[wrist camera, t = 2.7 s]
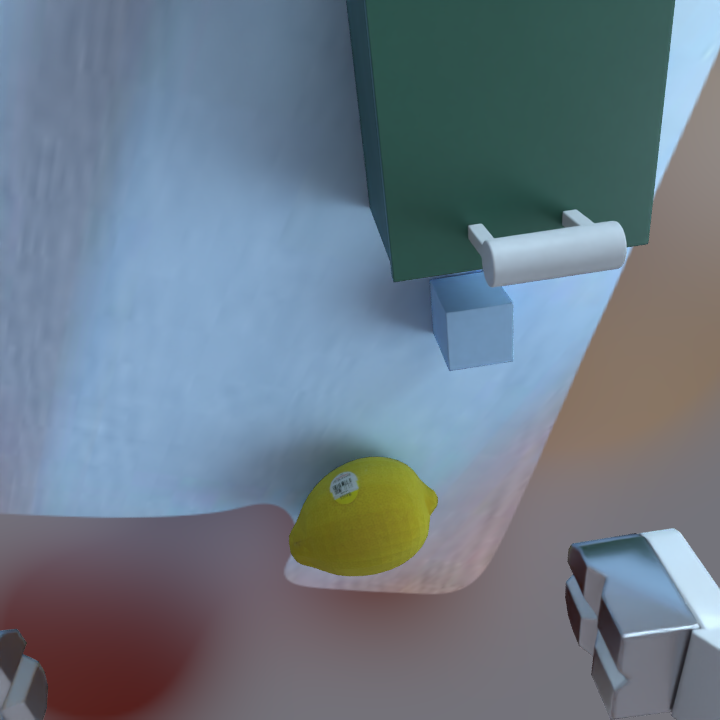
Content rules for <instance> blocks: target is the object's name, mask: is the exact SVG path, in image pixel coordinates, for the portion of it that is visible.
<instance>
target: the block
mask: <svg viewBox="0 0 720 720" xmlns="http://www.w3.org/2000/svg"><path fill="white" fill-rule="evenodd" d="M430 292H431V306H432V321H433V334H434V336H435V338H436V341H437V343H438V345H439V348H440V350H441V352H442V355H443V357H444V359H445V362H446V364H447V367H448V369H449V371H453V370H459V369H466V368H472V367H479V366H485V365H492V364H498V363H505V362H511V361H513V302H512V301H511V299H510V298H509V296H508V295H507V294H506V292H505V291H504V289H503V288H502V287H501V286H500V287H493V288H492V287H489V286H488V284H487V282H486V280H485V276H484V272H479V273H472V274H465V275H459V276H452V277H445V278H439V279H432V280H430Z"/></svg>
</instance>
